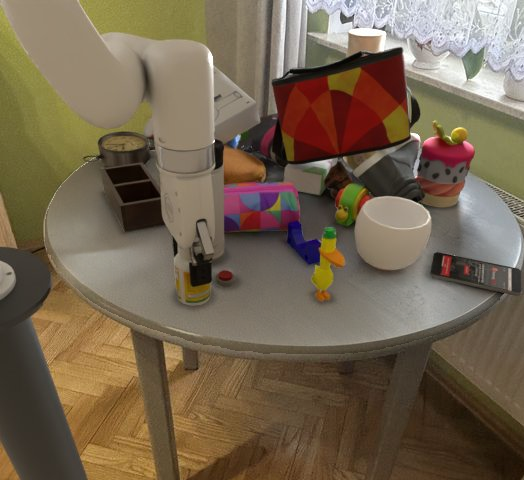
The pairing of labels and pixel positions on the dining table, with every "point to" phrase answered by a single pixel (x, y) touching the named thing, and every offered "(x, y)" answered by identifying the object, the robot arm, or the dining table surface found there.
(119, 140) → the alarm clock
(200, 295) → the supplement bottle
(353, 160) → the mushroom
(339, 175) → the artifact
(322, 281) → the toy figure
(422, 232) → the cup
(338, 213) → the green red striped toy
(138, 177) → the rack
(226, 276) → the push button
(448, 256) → the smartphone
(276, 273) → the dining table surface
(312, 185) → the ink box
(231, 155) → the pancake
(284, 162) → the shoe
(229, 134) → the skincare box
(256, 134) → the dark grey pouch
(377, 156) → the sneaker
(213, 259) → the travel mug
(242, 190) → the pencil case
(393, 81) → the bag
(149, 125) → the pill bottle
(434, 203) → the cake
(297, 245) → the cable holder
